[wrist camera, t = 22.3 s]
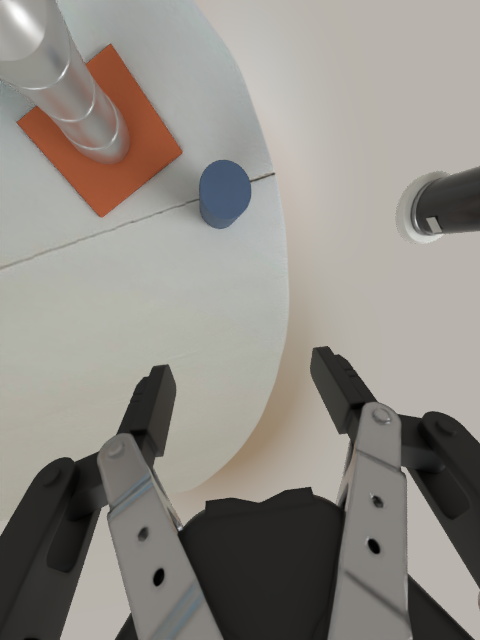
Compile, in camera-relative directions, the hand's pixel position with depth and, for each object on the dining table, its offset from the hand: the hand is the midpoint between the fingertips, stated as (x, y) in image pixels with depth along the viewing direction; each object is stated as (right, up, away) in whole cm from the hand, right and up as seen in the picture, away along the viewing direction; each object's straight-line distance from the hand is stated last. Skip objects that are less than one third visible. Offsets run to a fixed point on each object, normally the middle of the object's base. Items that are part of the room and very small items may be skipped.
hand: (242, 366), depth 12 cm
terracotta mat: (-17, +25, +15) cm, 34 cm away
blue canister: (-3, +19, +19) cm, 27 cm away
